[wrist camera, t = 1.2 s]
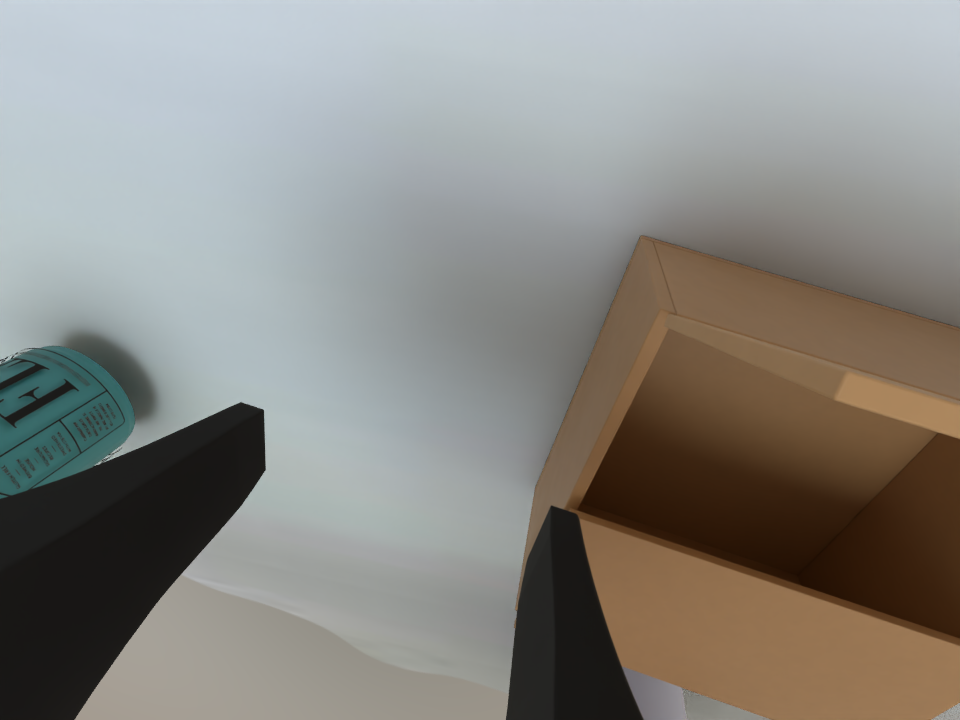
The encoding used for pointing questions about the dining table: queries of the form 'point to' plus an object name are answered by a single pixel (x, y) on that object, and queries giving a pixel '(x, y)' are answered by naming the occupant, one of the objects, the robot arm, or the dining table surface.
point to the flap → (832, 379)
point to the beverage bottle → (57, 417)
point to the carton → (765, 497)
